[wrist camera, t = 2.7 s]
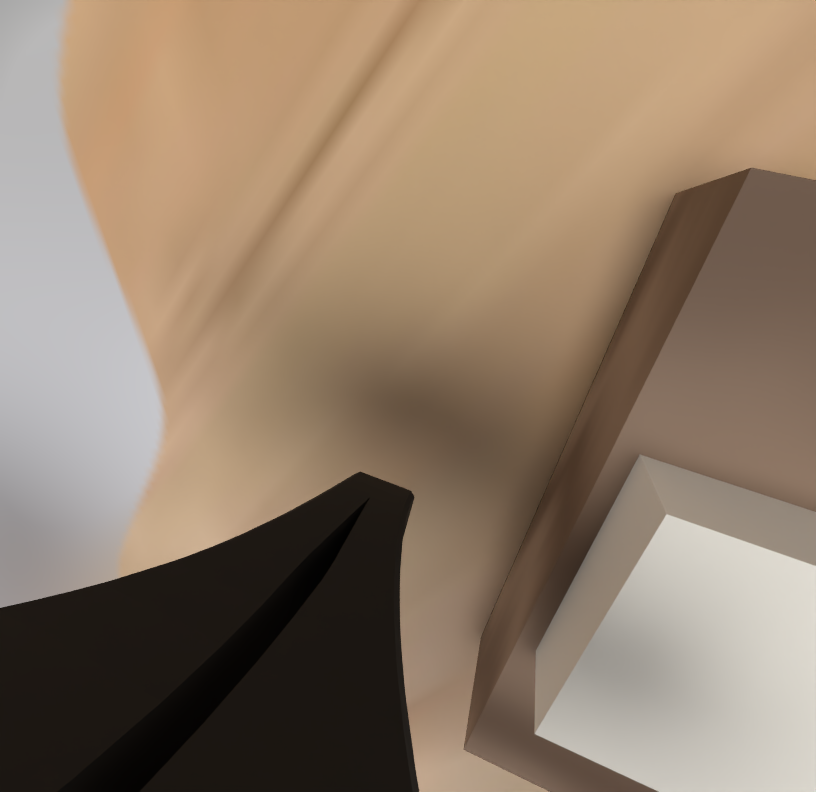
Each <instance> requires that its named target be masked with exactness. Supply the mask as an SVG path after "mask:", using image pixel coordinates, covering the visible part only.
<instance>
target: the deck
mask: <svg viewBox="0 0 816 792" xmlns="http://www.w3.org/2000/svg"><path fill="white" fill-rule="evenodd" d="M639 455H643V456H646V457H649V458H652V459H655V460H658V461H661V462H664V463H667V464H670V465H674V466H677V467H680V468H683V469H686V470H689V471H692V472H695V473H698V474H701V475H704V476H707V477H710V478H713V479H716V480H719V481H723V482H726V483H729V484H732V485H735V486H738V487H741V488H744V489H747V490H750V491H753V492H756V493H759V494H762V495H765V496H768V497H772V498H775V499H778V500H781V501H784V502H787V503H790V504H793V505H796V506H799V507H802V508H805V509H808V510H811V511H814V512H816V180H811V179H806V178H801V177H796V176H791V175H785V174H780V173H775V172H770V171H765V170H760V169H755V168H749V169H746V170H743V171H741V172H738V173H735V174H732V175H729V176H726V177H723V178H720V179H717V180H714V181H711V182H708V183H705V184H703V185H700V186H697V187H694V188H691V189H688V190H685V191H682V192H679V193H676V195H675V197H674V199H673V202H672V204H671V206H670V208H669V211H668V213H667V215H666V217H665V220H664V222H663V224H662V227H661V229H660V231H659V233H658V236H657V238H656V240H655V243H654V245H653V247H652V249H651V252H650V254H649V256H648V258H647V261H646V263H645V265H644V268H643V270H642V272H641V274H640V277H639V279H638V281H637V284H636V286H635V288H634V290H633V293H632V295H631V297H630V299H629V302H628V304H627V306H626V309H625V311H624V313H623V315H622V318H621V320H620V322H619V325H618V327H617V329H616V331H615V334H614V336H613V338H612V340H611V343H610V345H609V347H608V350H607V352H606V354H605V356H604V359H603V361H602V363H601V366H600V368H599V370H598V372H597V375H596V377H595V379H594V381H593V384H592V386H591V388H590V391H589V393H588V395H587V397H586V400H585V402H584V404H583V407H582V409H581V411H580V413H579V416H578V418H577V420H576V422H575V425H574V427H573V429H572V432H571V434H570V436H569V438H568V441H567V443H566V445H565V447H564V450H563V452H562V454H561V457H560V459H559V461H558V463H557V466H556V468H555V470H554V473H553V475H552V477H551V479H550V482H549V484H548V486H547V488H546V491H545V493H544V495H543V498H542V500H541V502H540V504H539V507H538V509H537V511H536V514H535V516H534V518H533V520H532V523H531V525H530V527H529V529H528V532H527V534H526V536H525V539H524V541H523V543H522V545H521V548H520V550H519V552H518V555H517V557H516V559H515V561H514V564H513V566H512V568H511V570H510V573H509V575H508V577H507V580H506V582H505V584H504V586H503V589H502V591H501V593H500V596H499V598H498V600H497V602H496V605H495V607H494V609H493V611H492V614H491V616H490V618H489V621H488V623H487V625H486V627H485V630H484V632H483V634H482V637H481V641H480V647H479V654H478V660H477V667H476V673H475V680H474V686H473V692H472V699H471V705H470V712H469V718H468V725H467V731H466V738H465V744H464V750H466V751H468V752H470V753H472V754H474V755H476V756H478V757H480V758H482V759H484V760H486V761H488V762H490V763H492V764H494V765H496V766H498V767H500V768H502V769H505V770H507V771H509V772H511V773H513V774H515V775H517V776H519V777H521V778H523V779H525V780H527V781H529V782H531V783H533V784H535V785H537V786H539V787H541V788H544V789H546V790H548V791H550V792H658V791H656V790H654V789H652V788H650V787H648V786H645V785H643V784H641V783H639V782H637V781H635V780H632V779H630V778H628V777H626V776H624V775H622V774H620V773H617V772H615V771H613V770H611V769H609V768H607V767H605V766H602V765H600V764H598V763H596V762H594V761H592V760H589V759H587V758H585V757H583V756H581V755H579V754H577V753H574V752H572V751H570V750H568V749H566V748H564V747H562V746H559V745H557V744H555V743H553V742H551V741H549V740H546V739H544V738H542V737H540V736H538V735H536V734H534V728H535V669H536V649H537V648H538V646H539V644H540V642H541V640H542V638H543V636H544V634H545V632H546V631H547V629H548V627H549V625H550V623H551V621H552V619H553V617H554V615H555V614H556V612H557V610H558V608H559V606H560V604H561V602H562V600H563V598H564V597H565V595H566V593H567V591H568V589H569V587H570V585H571V583H572V581H573V580H574V578H575V576H576V574H577V572H578V570H579V568H580V566H581V564H582V563H583V561H584V559H585V557H586V555H587V553H588V551H589V549H590V547H591V546H592V544H593V542H594V540H595V538H596V536H597V534H598V532H599V530H600V529H601V527H602V525H603V523H604V521H605V519H606V517H607V515H608V513H609V512H610V510H611V508H612V506H613V504H614V502H615V500H616V498H617V496H618V495H619V493H620V491H621V489H622V487H623V485H624V483H625V481H626V479H627V478H628V476H629V474H630V472H631V470H632V468H633V466H634V464H635V462H636V461H637V459H638V457H639Z"/></svg>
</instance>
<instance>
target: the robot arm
mask: <svg viewBox="0 0 816 792" xmlns="http://www.w3.org/2000/svg"><path fill="white" fill-rule="evenodd" d="M413 500H414V495H413V494H412V492H411V491H410V490H407V489H405V488H402V487H399V486H397V485H394V484H391V483H389V482H386V481H383V480H381V479H378V478H376V477H373V476H370V475H368V474H365V473H362V472H359V473H356V474H354V475H352V476H351V477H349V478H347V479H346V480H344V481H342V482H341V483H339V484H337V485H336V486H334V487H332V488H330V489H329V490H327V491H325V492H324V493H322V494H320V495H318V496H317V497H315V498H313V499H311V500H309V501H307V502H306V503H304V504H302V505H300V506H298V507H296V508H294V509H293V510H291V511H289V512H287V513H285V514H283V515H281V516H279V517H277V518H275V519H273V520H271V521H269V522H267V523H265V524H262V525H260V526H258V527H256V528H254V529H252V530H250V531H248V532H246V533H243V534H241V535H239V536H237V537H234V538H232V539H230V540H227V541H225V542H223V543H220V544H218V545H215V546H213V547H210V548H208V549H205V550H202V551H200V552H197V553H195V554H192V555H189V556H187V557H184V558H181V559H178V560H175V561H172V562H169V563H166V564H163V565H160V566H157V567H153V568H150V569H147V570H144V571H141V572H137V573H134V574H131V575H128V576H125V577H121V578H118V579H115V580H112V581H108V582H105V583H101V584H97V585H94V586H90V587H86V588H83V589H79V590H74V591H71V592H67V593H63V594H58V595H54V596H50V597H46V598H42V599H38V600H34V601H29V602H25V603H21V604H16V605H11V606H7V607H3V608H0V792H419V788H418V782H417V776H416V770H415V763H414V755H413V748H412V741H411V733H410V726H409V719H408V712H407V704H406V696H405V686H404V675H403V664H402V651H401V635H400V565H401V552H402V541H403V536H404V532H405V529H406V525H407V522H408V518H409V515H410V511H411V508H412V504H413Z"/></svg>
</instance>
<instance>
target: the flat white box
mask: <svg viewBox="0 0 816 792" xmlns="http://www.w3.org/2000/svg"><path fill="white" fill-rule="evenodd" d="M534 734H536V735H538V736H540V737H542V738H544V739H546V740H549V741H551V742H553V743H555V744H557V745H559V746H562V747H564V748H566V749H568V750H570V751H572V752H574V753H577V754H579V755H581V756H583V757H585V758H587V759H589V760H592V761H594V762H596V763H598V764H600V765H602V766H605V767H607V768H609V769H611V770H613V771H615V772H617V773H620V774H622V775H624V776H626V777H628V778H630V779H632V780H635V781H637V782H639V783H641V784H643V785H645V786H648V787H650V788H652V789H654V790H656V791H658V792H816V512H814V511H811V510H808V509H805V508H802V507H799V506H796V505H793V504H790V503H787V502H784V501H781V500H778V499H775V498H772V497H768V496H765V495H762V494H759V493H756V492H753V491H750V490H747V489H744V488H741V487H738V486H735V485H732V484H729V483H726V482H723V481H719V480H716V479H713V478H710V477H707V476H704V475H701V474H698V473H695V472H692V471H689V470H686V469H683V468H680V467H677V466H674V465H670V464H667V463H664V462H661V461H658V460H655V459H652V458H649V457H646V456H643V455H639V457H638V459H637V461H636V462H635V464H634V466H633V468H632V470H631V472H630V474H629V476H628V478H627V479H626V481H625V483H624V485H623V487H622V489H621V491H620V493H619V495H618V496H617V498H616V500H615V502H614V504H613V506H612V508H611V510H610V512H609V513H608V515H607V517H606V519H605V521H604V523H603V525H602V527H601V529H600V530H599V532H598V534H597V536H596V538H595V540H594V542H593V544H592V546H591V547H590V549H589V551H588V553H587V555H586V557H585V559H584V561H583V563H582V564H581V566H580V568H579V570H578V572H577V574H576V576H575V578H574V580H573V581H572V583H571V585H570V587H569V589H568V591H567V593H566V595H565V597H564V598H563V600H562V602H561V604H560V606H559V608H558V610H557V612H556V614H555V615H554V617H553V619H552V621H551V623H550V625H549V627H548V629H547V631H546V632H545V634H544V636H543V638H542V640H541V642H540V644H539V646H538V648H537V649H536V669H535V728H534Z"/></svg>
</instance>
